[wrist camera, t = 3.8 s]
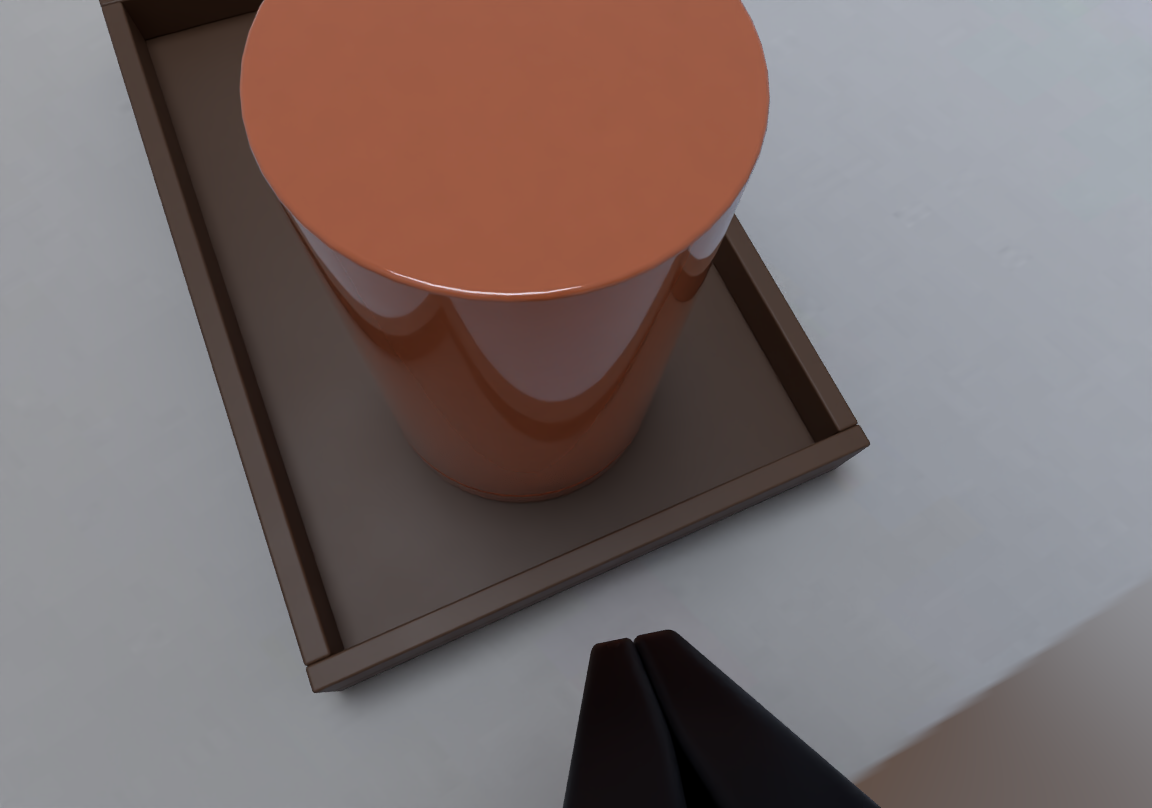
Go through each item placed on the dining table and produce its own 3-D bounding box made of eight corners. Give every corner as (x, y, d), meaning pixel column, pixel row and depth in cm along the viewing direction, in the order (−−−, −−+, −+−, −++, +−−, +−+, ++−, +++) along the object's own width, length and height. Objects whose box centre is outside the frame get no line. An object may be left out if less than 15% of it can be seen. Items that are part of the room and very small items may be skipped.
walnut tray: (836, 467, 21) (872, 444, 18) (338, 691, 18) (312, 694, 16) (537, -57, 27) (538, -121, 25) (134, 52, 24) (95, -9, 22)
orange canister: (693, 441, 20) (869, 188, 9) (444, 546, 18) (335, 385, 8) (586, 231, 22) (634, -166, 11) (355, 313, 21) (175, -53, 10)
